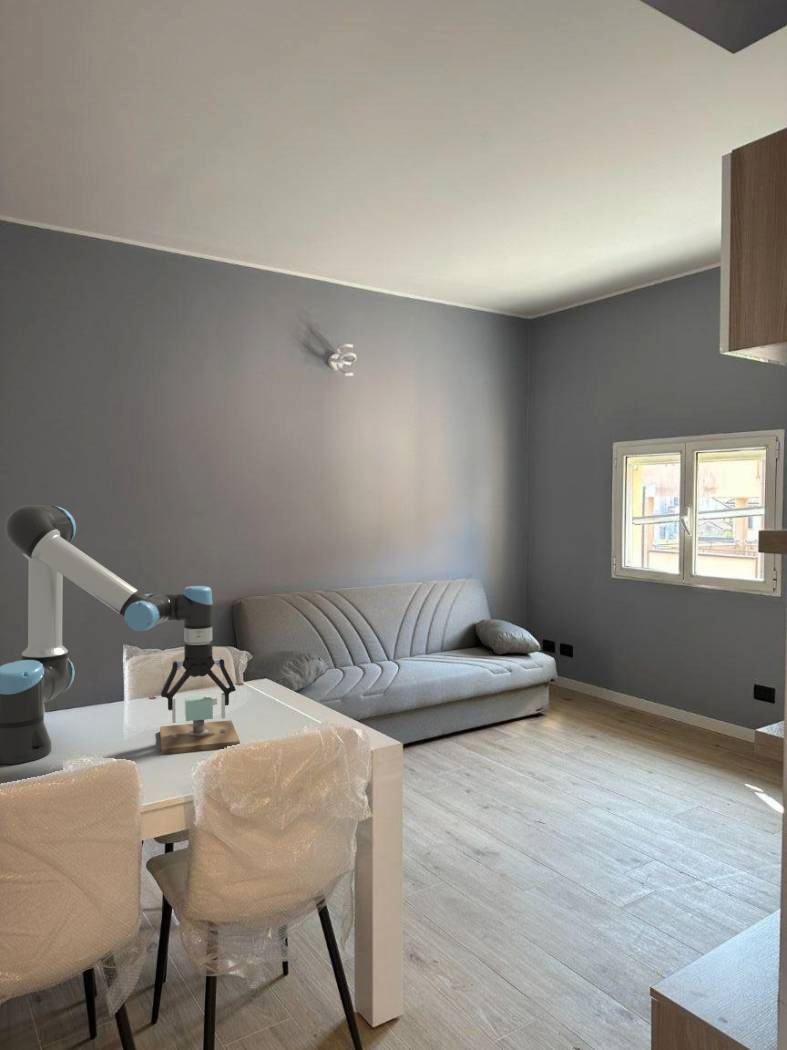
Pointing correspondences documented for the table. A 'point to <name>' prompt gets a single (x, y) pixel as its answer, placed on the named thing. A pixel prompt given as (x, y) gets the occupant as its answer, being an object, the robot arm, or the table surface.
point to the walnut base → (197, 736)
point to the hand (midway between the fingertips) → (198, 719)
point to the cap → (199, 707)
